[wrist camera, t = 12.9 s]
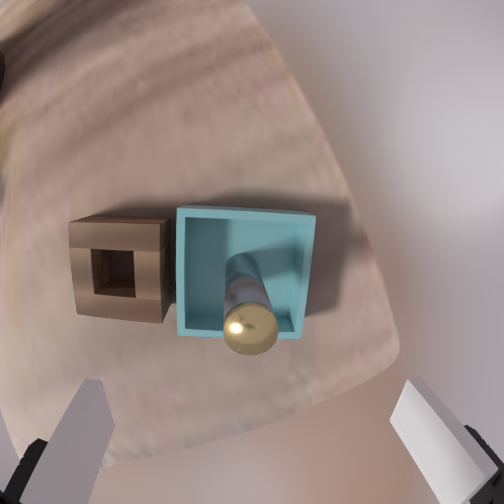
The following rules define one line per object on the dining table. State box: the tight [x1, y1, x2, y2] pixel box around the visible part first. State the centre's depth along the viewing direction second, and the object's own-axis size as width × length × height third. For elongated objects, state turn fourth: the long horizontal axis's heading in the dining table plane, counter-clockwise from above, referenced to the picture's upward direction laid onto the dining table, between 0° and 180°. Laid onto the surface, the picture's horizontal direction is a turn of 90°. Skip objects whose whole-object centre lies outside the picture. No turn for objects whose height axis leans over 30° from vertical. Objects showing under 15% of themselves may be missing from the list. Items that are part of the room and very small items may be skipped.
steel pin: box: [223, 253, 279, 355], centre depth 25 cm, size 4×4×14 cm
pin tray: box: [176, 205, 316, 339], centre depth 30 cm, size 13×13×4 cm
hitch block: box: [68, 216, 171, 323], centre depth 29 cm, size 10×10×5 cm
